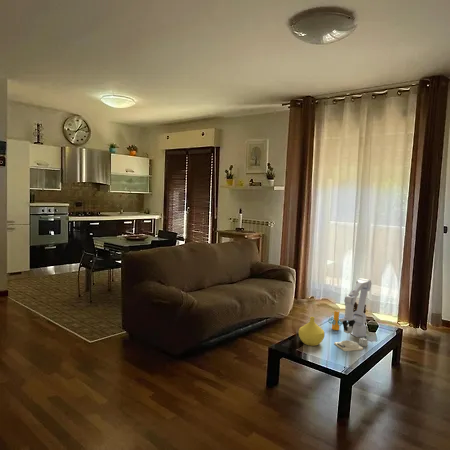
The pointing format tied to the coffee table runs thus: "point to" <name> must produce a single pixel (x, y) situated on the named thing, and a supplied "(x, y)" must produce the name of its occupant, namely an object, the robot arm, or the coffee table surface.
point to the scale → (348, 345)
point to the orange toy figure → (335, 321)
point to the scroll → (356, 308)
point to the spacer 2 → (363, 342)
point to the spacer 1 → (348, 329)
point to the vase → (311, 333)
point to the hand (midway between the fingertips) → (347, 330)
